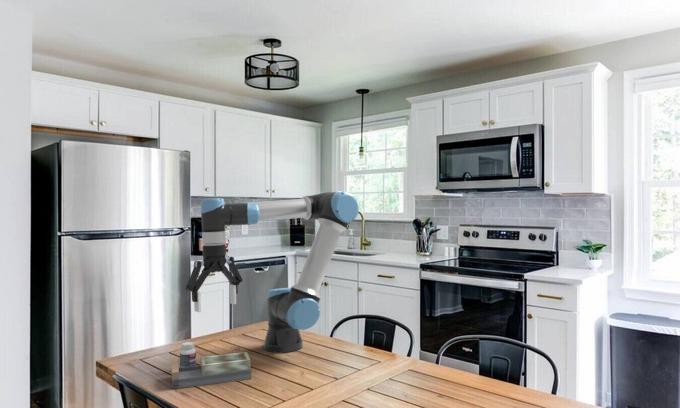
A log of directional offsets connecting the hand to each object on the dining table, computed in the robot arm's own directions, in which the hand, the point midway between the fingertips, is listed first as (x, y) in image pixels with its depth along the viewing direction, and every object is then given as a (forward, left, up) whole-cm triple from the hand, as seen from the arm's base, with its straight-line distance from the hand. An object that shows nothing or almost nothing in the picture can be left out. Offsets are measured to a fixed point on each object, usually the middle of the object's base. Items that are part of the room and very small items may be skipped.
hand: (216, 307), depth 157 cm
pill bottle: (+9, -7, -22) cm, 25 cm away
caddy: (-2, +4, -20) cm, 21 cm away
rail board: (+2, +4, -22) cm, 22 cm away
